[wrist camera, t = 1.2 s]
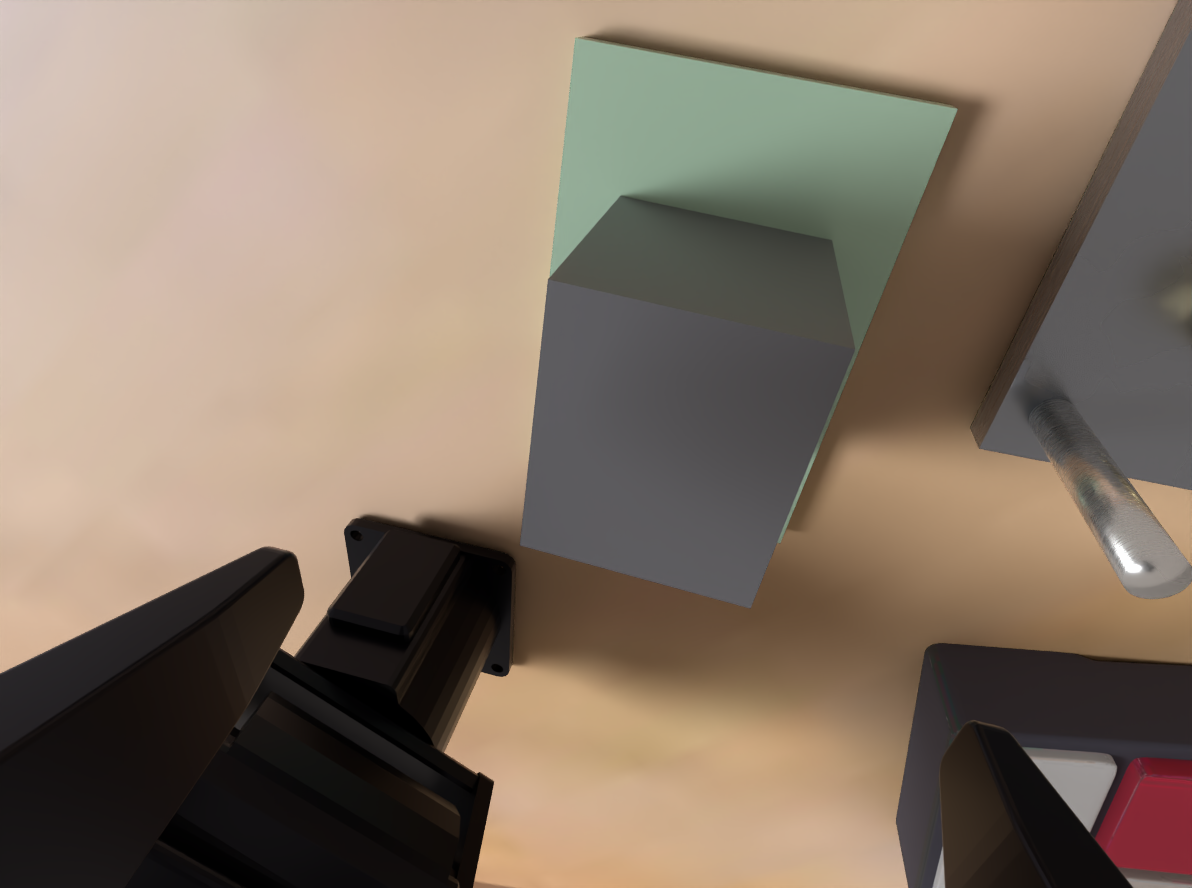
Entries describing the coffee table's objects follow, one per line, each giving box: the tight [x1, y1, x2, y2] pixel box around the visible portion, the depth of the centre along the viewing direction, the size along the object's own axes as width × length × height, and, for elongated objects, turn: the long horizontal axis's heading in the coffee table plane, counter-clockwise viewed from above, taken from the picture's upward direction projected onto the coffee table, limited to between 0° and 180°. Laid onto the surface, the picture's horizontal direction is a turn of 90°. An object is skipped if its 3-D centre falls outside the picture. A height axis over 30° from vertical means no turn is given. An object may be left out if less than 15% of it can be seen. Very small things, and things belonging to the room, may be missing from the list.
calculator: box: [896, 643, 1192, 888], centre depth 21 cm, size 11×4×15 cm
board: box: [520, 37, 958, 608], centre depth 15 cm, size 12×8×7 cm, turn 172°
